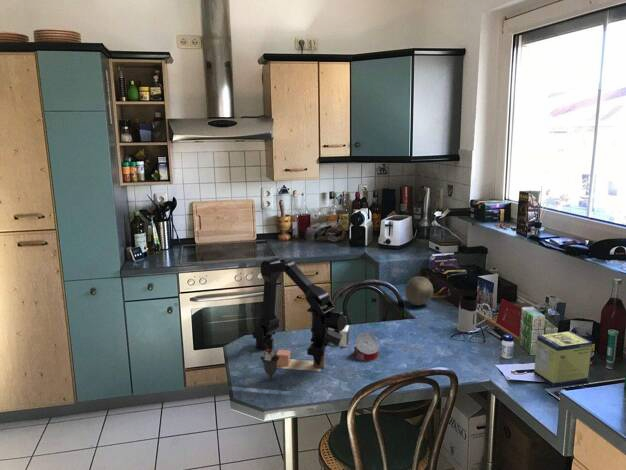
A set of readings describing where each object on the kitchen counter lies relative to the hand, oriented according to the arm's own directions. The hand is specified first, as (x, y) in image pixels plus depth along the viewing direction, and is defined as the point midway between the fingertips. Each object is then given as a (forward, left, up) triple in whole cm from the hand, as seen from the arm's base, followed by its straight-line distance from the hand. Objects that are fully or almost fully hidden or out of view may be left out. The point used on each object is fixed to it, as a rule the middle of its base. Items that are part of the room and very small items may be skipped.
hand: (319, 362), depth 196 cm
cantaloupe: (+40, +80, -3) cm, 89 cm away
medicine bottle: (+5, +25, -3) cm, 26 cm away
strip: (-9, 0, -2) cm, 9 cm away
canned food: (+17, +15, -3) cm, 23 cm away
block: (-14, 0, -1) cm, 14 cm away
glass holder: (+63, +49, -3) cm, 80 cm away
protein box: (+89, +8, -3) cm, 89 cm away
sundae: (-16, -14, -3) cm, 21 cm away
